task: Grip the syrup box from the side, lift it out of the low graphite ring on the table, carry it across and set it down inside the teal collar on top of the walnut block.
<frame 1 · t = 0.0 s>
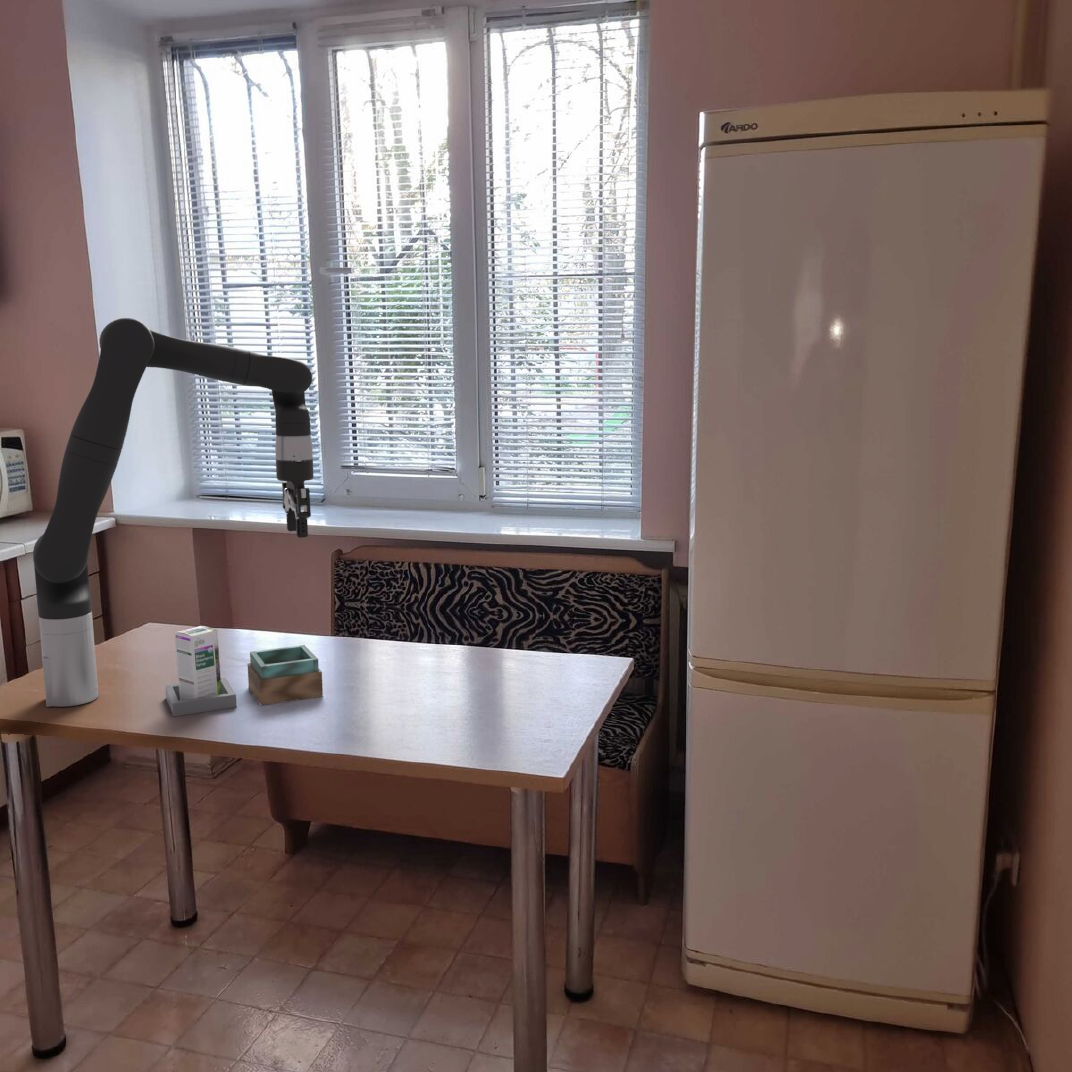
hand: (297, 533, 203), 29 cm above the table, tool pointing down, fingers open, 8 cm apart
syrup box: (200, 703, 186), resting in low ring
low ring: (200, 702, 186), on the table
raised dock: (285, 691, 193), on the table
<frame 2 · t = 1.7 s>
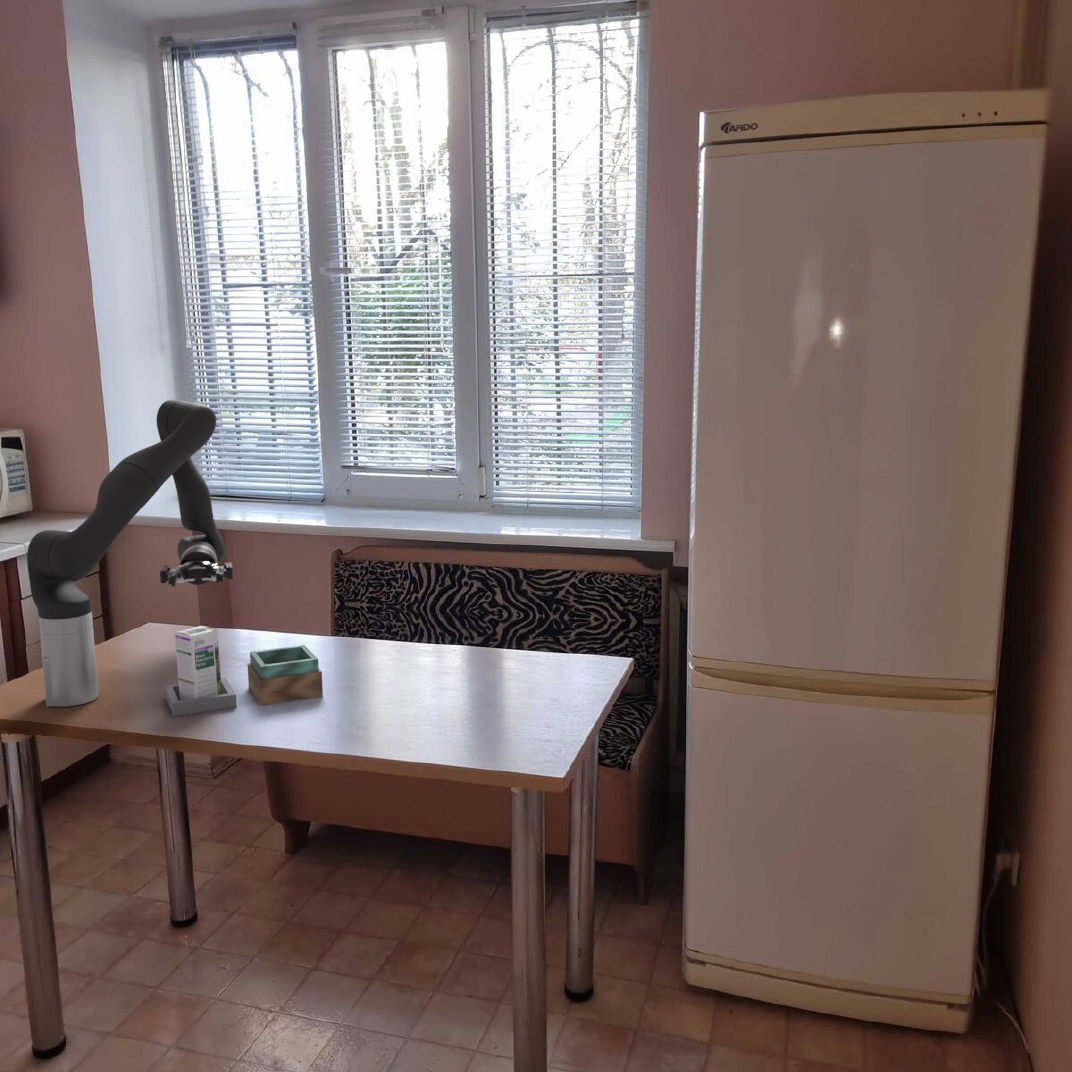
hand: (195, 580, 194), 22 cm above the table, tool horizontal, fingers open, 8 cm apart
nothing on the table moved.
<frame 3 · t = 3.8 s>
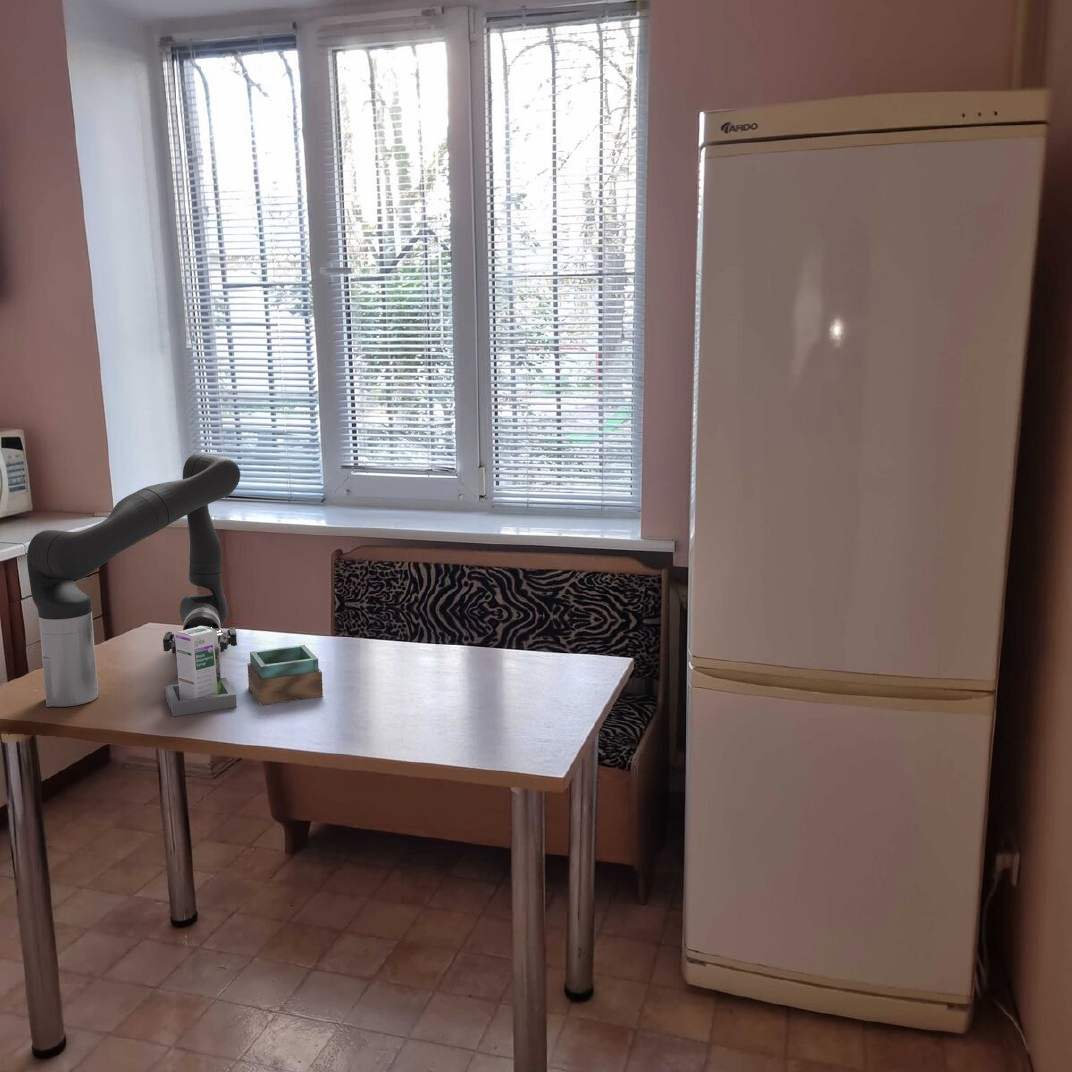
hand: (199, 648, 192), 9 cm above the table, tool horizontal, fingers open, 8 cm apart
nothing on the table moved.
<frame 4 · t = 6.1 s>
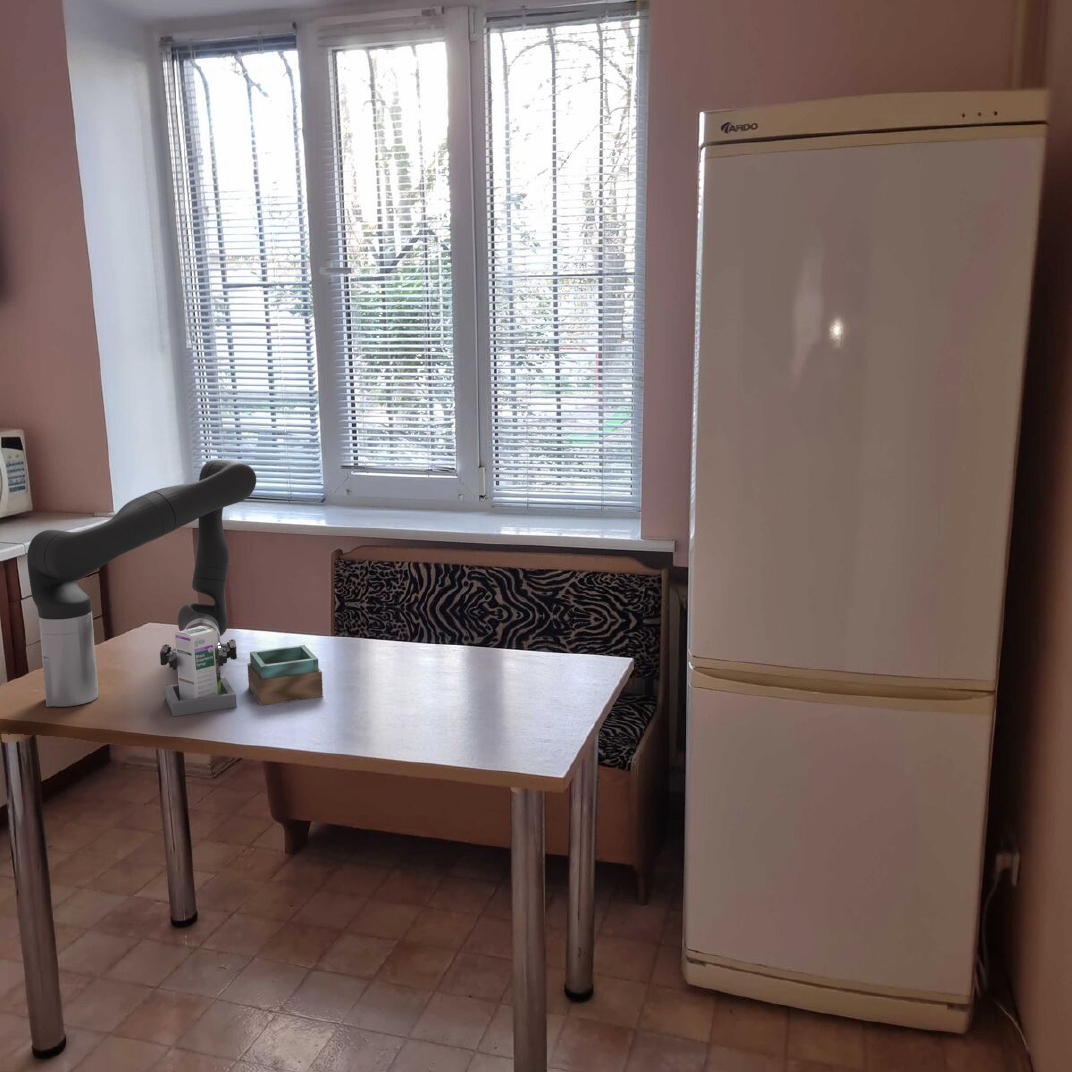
hand: (197, 662, 183), 9 cm above the table, tool horizontal, fingers closed on syrup box, 8 cm apart
syrup box: (200, 703, 186), resting in low ring, touching gripper
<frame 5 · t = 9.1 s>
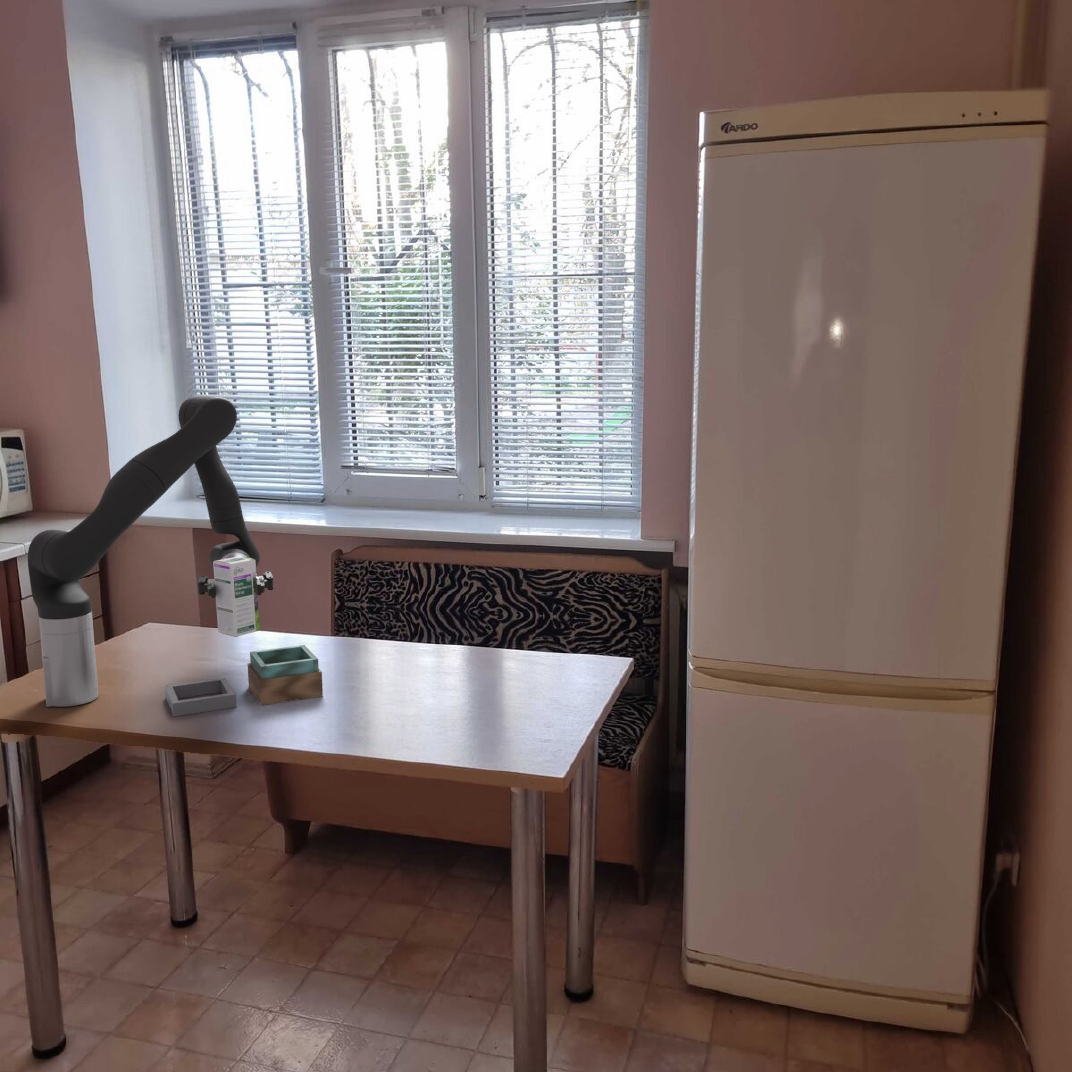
hand: (236, 591, 184), 22 cm above the table, tool horizontal, fingers closed on syrup box, 8 cm apart
syrup box: (238, 632, 188), point 13 cm above the table, touching gripper
when the fingers open (14 cm above the table, at t = 12.1 s): syrup box stays where it is, resting on raised dock.
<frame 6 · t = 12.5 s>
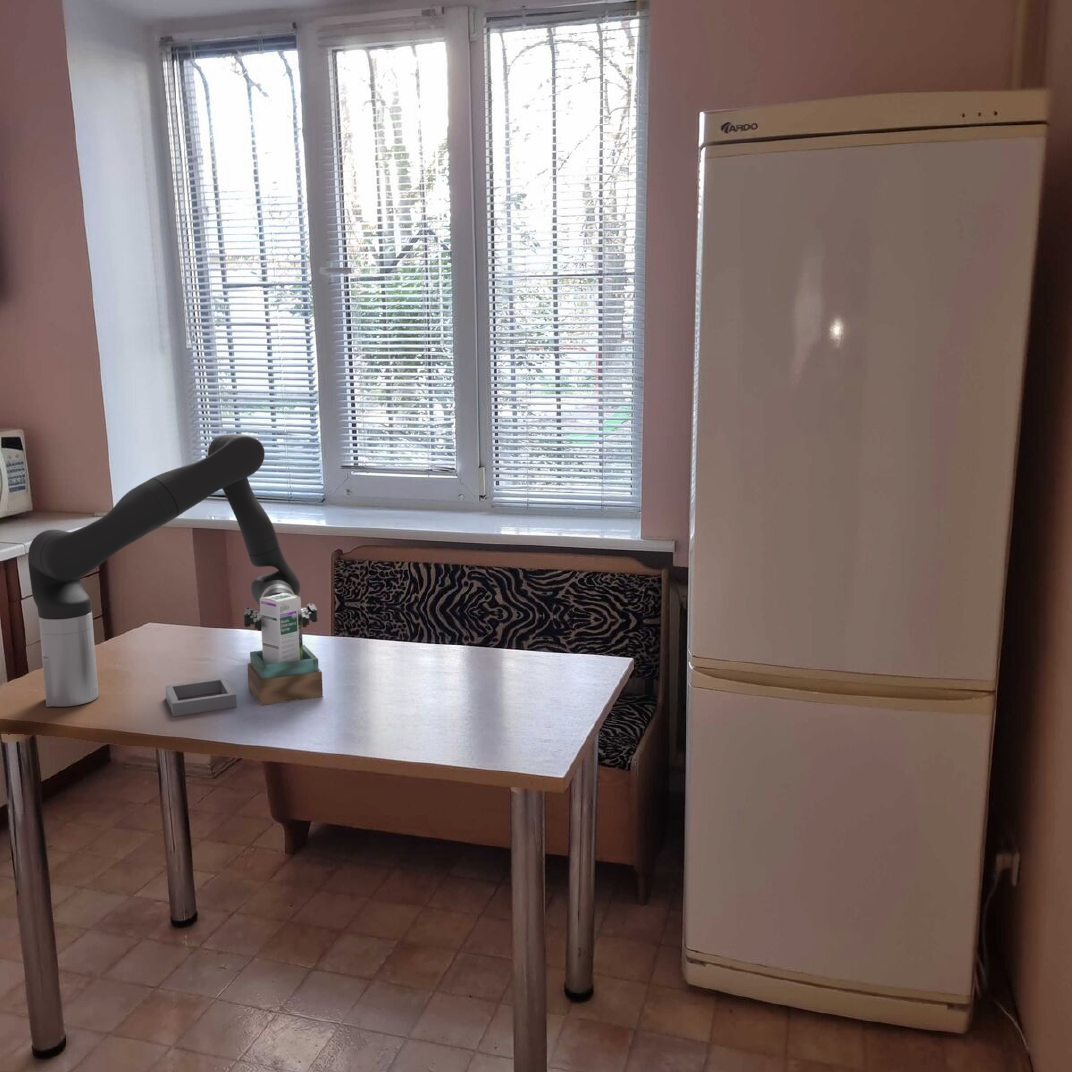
hand: (282, 624, 188), 14 cm above the table, tool horizontal, fingers open, 8 cm apart
syrup box: (283, 668, 192), point 5 cm above the table, touching gripper, raised dock
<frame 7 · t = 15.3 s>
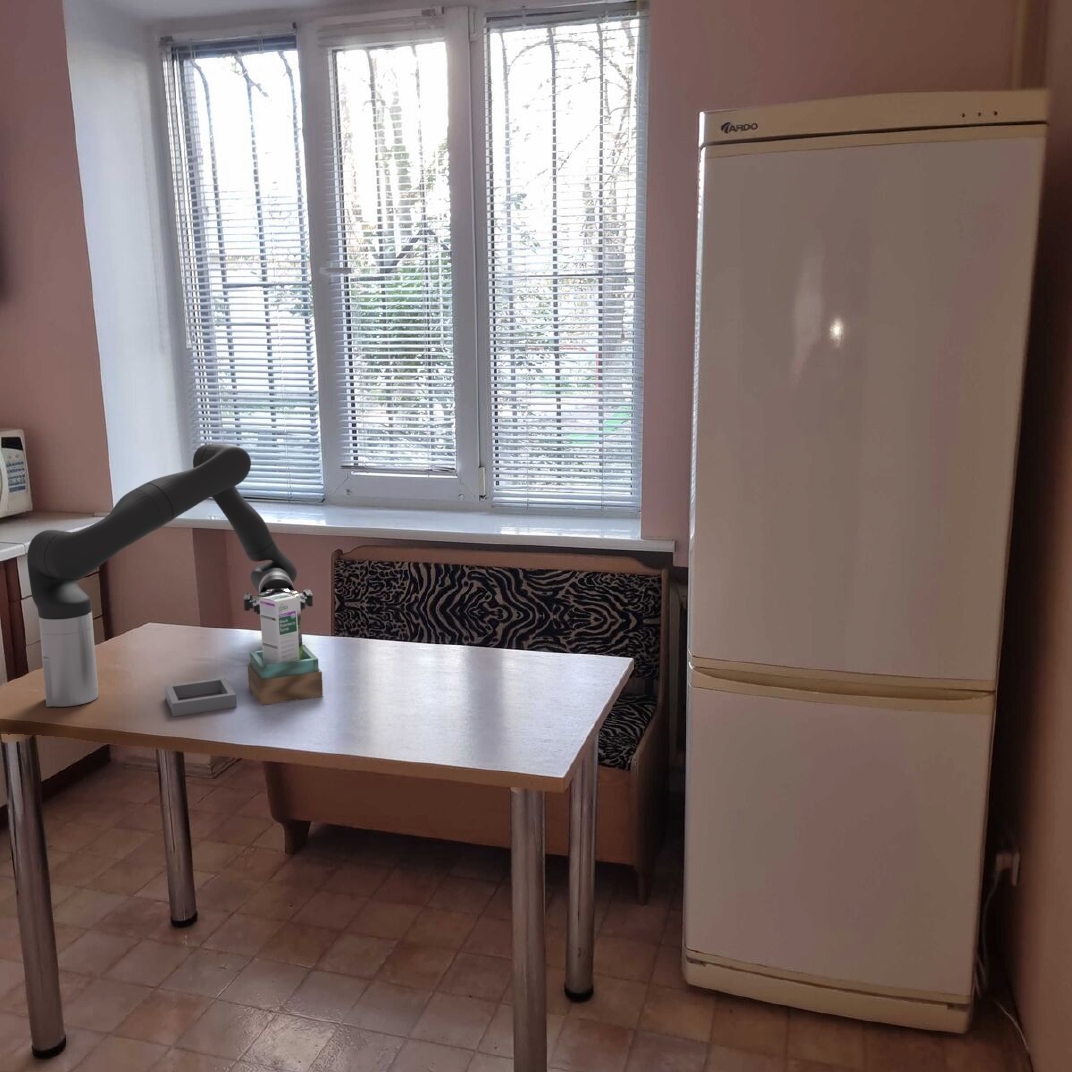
hand: (279, 607, 201), 15 cm above the table, tool horizontal, fingers open, 8 cm apart
syrup box: (283, 668, 192), point 5 cm above the table, touching raised dock
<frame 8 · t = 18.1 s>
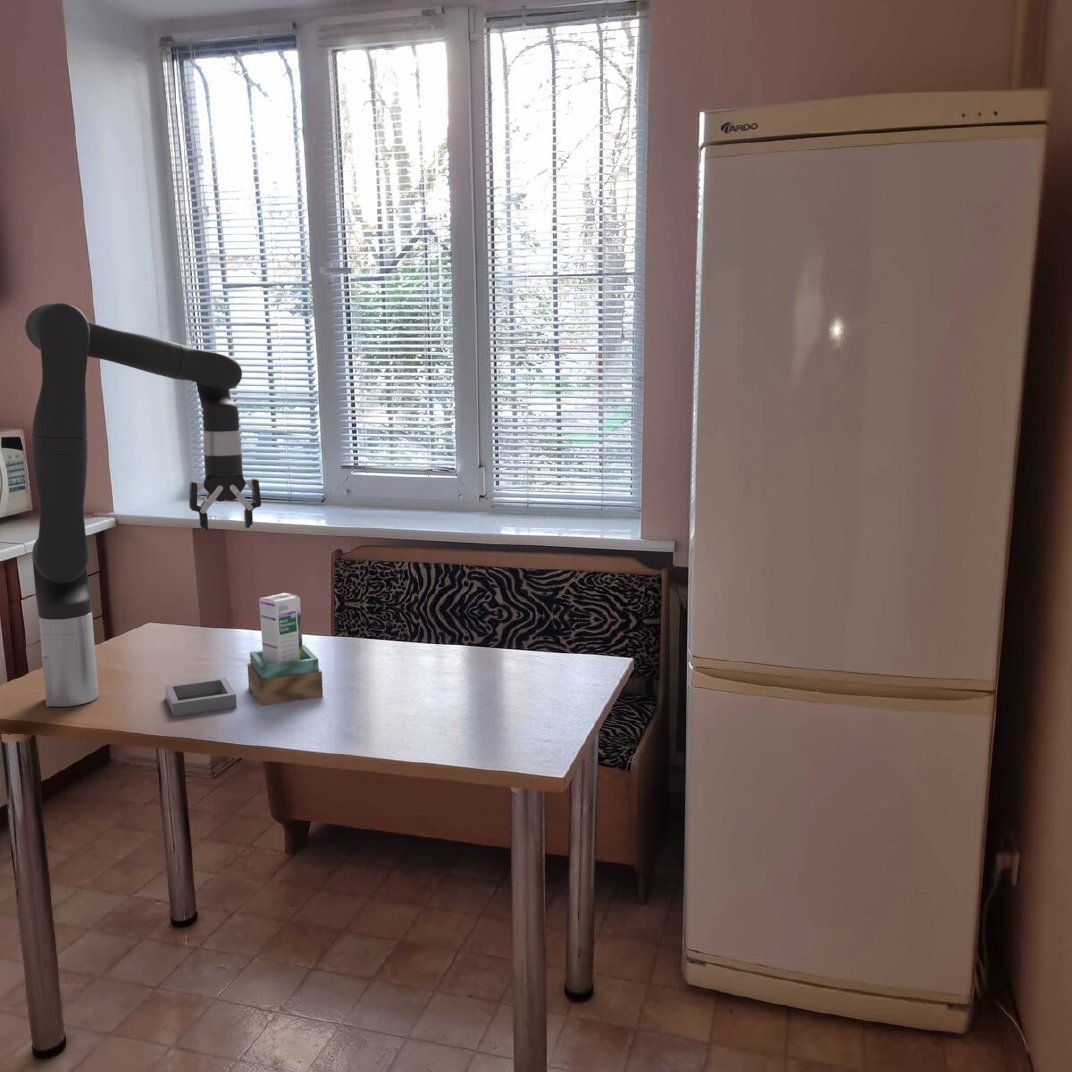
hand: (226, 529, 204), 30 cm above the table, tool pointing down, fingers open, 8 cm apart
nothing on the table moved.
at the end: syrup box 0.4 cm off-centre on the raised dock, point 4.8 cm above the raised dock's base; syrup box tilted 0°; the gripper is holding nothing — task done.
